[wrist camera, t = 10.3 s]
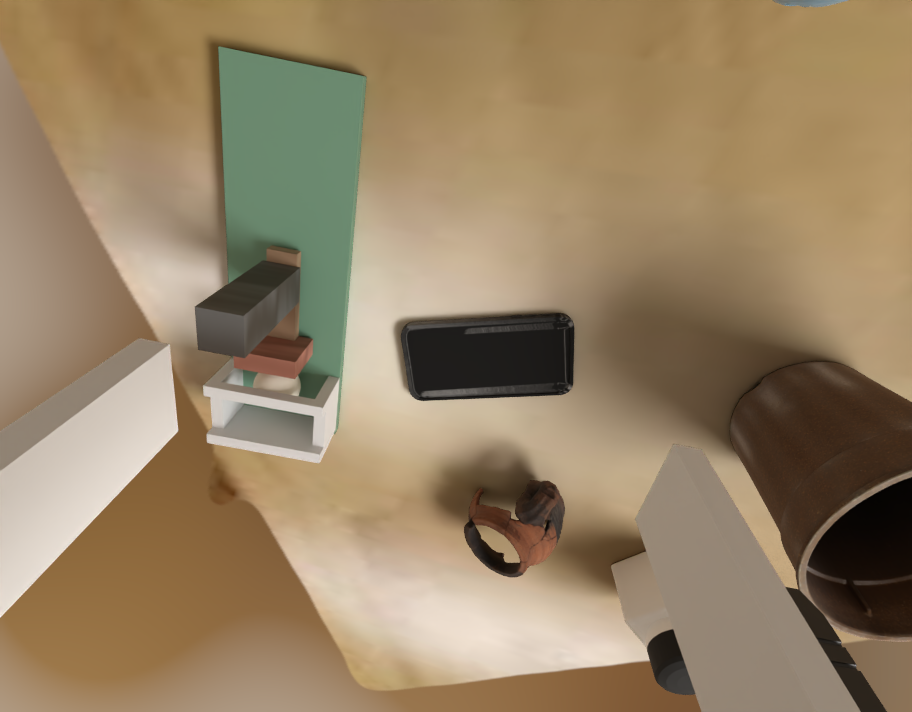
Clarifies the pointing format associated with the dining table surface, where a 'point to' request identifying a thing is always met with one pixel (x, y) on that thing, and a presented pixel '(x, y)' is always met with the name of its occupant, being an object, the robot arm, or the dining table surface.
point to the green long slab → (289, 235)
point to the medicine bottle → (651, 622)
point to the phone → (489, 357)
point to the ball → (277, 384)
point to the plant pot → (836, 489)
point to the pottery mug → (518, 528)
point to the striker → (258, 318)
